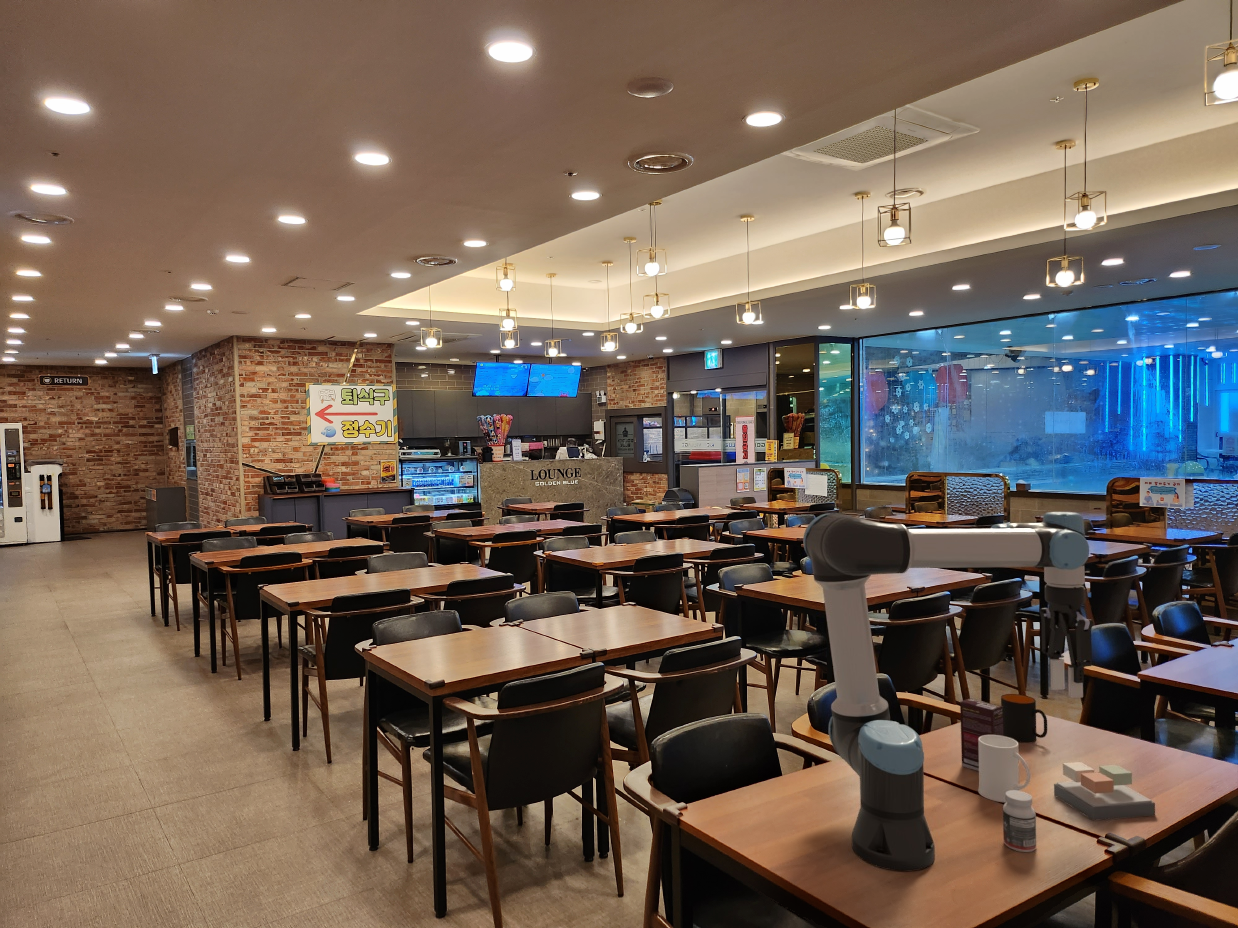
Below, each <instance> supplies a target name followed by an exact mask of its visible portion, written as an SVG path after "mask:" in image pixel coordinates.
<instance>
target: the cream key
mask: <svg viewBox="0 0 1238 928" xmlns="http://www.w3.org/2000/svg"><path fill="white" fill-rule="evenodd" d="M1082 773H1095V769H1094V768H1092V767H1090V766H1089V765H1086V764H1085V763H1083V762H1081V761H1077V762H1076V761H1075V762H1063V763H1062V775H1063V776H1064V777H1066V778H1068V779H1070V780H1072V781H1075V782H1081V774H1082Z"/></svg>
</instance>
